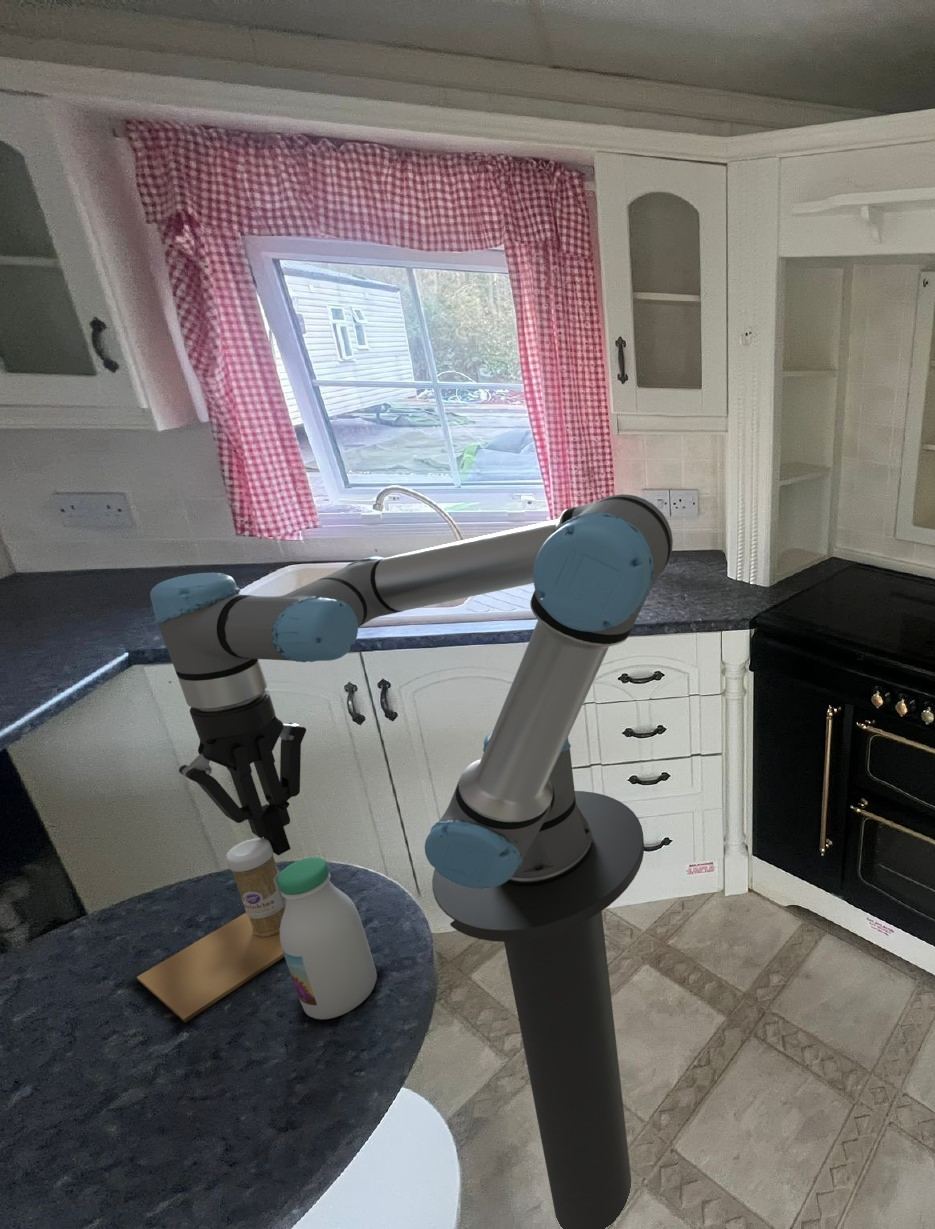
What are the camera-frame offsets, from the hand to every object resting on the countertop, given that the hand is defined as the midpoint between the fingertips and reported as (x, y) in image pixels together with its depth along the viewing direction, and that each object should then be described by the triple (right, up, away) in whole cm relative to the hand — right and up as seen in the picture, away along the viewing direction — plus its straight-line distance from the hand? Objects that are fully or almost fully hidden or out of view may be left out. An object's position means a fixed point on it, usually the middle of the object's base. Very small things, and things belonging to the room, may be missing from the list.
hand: (279, 848), depth 89 cm
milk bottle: (+14, -16, -7) cm, 22 cm away
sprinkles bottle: (-2, -11, +2) cm, 12 cm away
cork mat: (-4, -13, -2) cm, 14 cm away
